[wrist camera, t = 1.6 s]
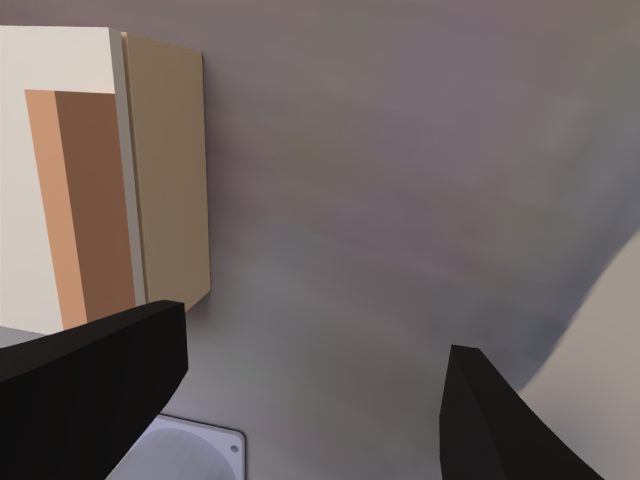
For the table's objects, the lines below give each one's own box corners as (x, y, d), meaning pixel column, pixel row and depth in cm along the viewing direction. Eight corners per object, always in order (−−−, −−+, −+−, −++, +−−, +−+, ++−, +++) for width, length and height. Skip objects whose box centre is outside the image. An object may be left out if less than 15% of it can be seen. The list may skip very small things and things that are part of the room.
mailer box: (210, 290, 23) (153, 340, 18) (-1, 259, 26) (-101, 295, 21) (201, 51, 19) (126, 32, 14) (-44, 45, 22) (-180, 26, 17)
